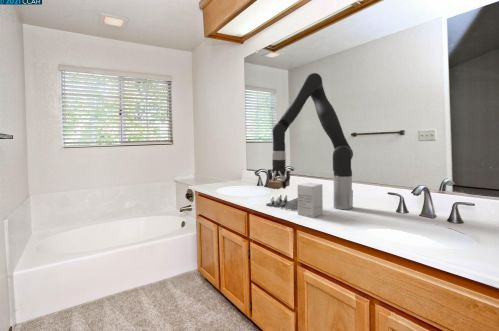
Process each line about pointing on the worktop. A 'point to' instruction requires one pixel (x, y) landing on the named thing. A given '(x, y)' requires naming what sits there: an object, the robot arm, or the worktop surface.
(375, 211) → the worktop surface
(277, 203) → the peg base
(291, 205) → the stand
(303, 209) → the supplement box
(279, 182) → the brown wooden block
